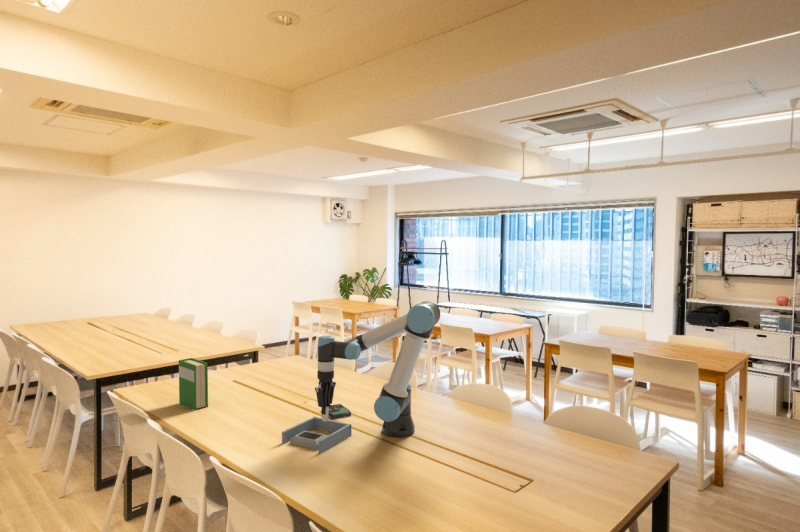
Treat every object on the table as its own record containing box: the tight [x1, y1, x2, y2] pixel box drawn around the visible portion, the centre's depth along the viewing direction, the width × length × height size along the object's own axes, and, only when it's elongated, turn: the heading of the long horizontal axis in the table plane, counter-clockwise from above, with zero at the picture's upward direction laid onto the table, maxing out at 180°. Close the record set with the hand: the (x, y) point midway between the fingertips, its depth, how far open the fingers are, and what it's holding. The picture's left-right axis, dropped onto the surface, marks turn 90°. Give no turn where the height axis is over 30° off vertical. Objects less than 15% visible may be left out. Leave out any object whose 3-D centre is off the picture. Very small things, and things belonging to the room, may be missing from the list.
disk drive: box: [328, 403, 352, 420], centre depth 256 cm, size 10×3×15 cm
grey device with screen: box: [289, 431, 327, 451], centre depth 217 cm, size 10×4×15 cm
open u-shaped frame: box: [281, 416, 352, 454], centre depth 221 cm, size 21×22×5 cm
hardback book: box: [178, 357, 209, 411], centre depth 267 cm, size 18×7×24 cm, turn 48°
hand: (325, 420), depth 226 cm, fingers closed
